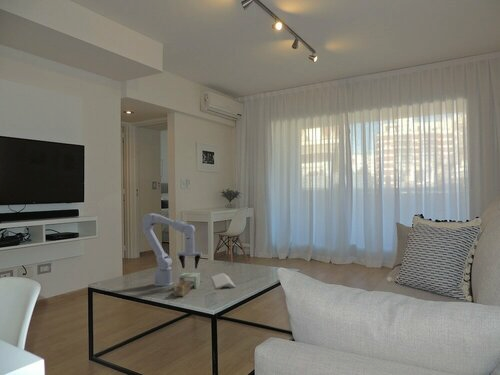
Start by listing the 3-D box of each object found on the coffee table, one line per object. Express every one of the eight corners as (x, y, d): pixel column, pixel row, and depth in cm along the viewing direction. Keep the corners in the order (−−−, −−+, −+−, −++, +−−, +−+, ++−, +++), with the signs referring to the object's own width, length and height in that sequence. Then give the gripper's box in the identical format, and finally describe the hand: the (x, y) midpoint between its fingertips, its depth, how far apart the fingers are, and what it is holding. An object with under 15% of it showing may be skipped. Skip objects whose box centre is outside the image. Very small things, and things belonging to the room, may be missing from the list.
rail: (175, 297, 184) (175, 297, 184) (190, 283, 214) (190, 283, 214) (181, 297, 184) (181, 297, 184) (195, 283, 214) (195, 283, 214)
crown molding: (210, 278, 228) (210, 273, 228) (229, 277, 231) (229, 272, 231) (215, 290, 200) (215, 283, 200) (236, 288, 202) (236, 282, 202)
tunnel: (179, 288, 202) (178, 276, 203) (183, 284, 212) (183, 272, 212) (196, 288, 201) (196, 276, 202) (200, 284, 211) (200, 272, 212)
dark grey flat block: (186, 283, 214) (186, 283, 214) (188, 281, 219) (188, 281, 219) (199, 283, 213) (199, 283, 213) (201, 281, 218) (201, 281, 218)
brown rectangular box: (174, 295, 185) (174, 286, 185) (180, 289, 197) (180, 280, 198) (183, 296, 185) (183, 286, 185) (189, 289, 197) (189, 280, 197)
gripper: (175, 246, 208) (175, 269, 208) (199, 246, 206) (200, 269, 206) (179, 244, 215) (179, 267, 215) (202, 244, 213) (202, 267, 213)
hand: (189, 268), depth 211 cm, fingers open, 7 cm apart
